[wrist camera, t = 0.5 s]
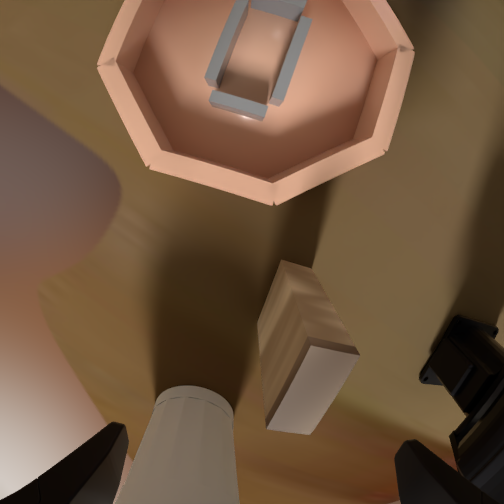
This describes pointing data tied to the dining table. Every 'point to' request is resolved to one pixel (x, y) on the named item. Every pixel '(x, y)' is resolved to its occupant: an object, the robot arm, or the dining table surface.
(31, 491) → the robot arm
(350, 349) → the block
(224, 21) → the candle dish
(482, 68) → the dining table surface
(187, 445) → the cup
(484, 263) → the dining table surface
